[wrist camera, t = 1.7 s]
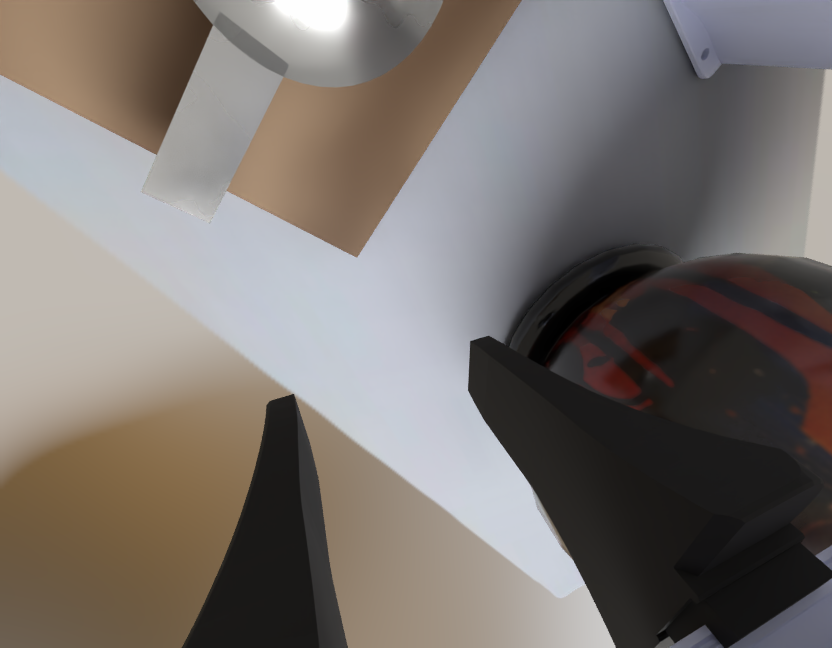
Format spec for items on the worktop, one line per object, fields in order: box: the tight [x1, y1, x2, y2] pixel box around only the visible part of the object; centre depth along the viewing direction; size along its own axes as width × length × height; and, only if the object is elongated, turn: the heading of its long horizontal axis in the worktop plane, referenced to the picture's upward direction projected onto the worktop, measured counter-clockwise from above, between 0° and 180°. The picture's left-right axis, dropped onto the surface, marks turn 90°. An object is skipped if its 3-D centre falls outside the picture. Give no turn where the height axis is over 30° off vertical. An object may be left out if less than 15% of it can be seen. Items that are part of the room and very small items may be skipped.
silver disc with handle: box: [141, 0, 443, 223], centre depth 11 cm, size 13×8×2 cm, turn 142°
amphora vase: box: [509, 244, 832, 558], centre depth 21 cm, size 22×22×28 cm
